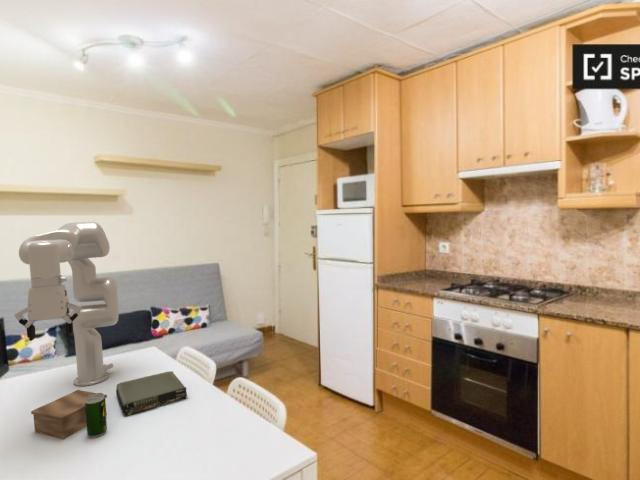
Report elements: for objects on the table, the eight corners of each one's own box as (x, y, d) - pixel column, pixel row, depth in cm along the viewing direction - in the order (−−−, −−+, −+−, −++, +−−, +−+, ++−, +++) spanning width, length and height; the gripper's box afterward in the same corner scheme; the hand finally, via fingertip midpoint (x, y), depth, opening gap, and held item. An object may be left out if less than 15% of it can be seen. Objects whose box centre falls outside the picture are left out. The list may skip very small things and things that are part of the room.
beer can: (88, 440, 120) (85, 402, 120) (86, 432, 125) (84, 395, 124) (108, 434, 123) (105, 397, 122) (106, 427, 128) (103, 391, 127)
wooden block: (79, 408, 141) (77, 389, 140) (108, 414, 136) (106, 394, 135) (32, 432, 126) (30, 411, 126) (63, 440, 121) (61, 418, 121)
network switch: (126, 421, 132) (125, 406, 132) (108, 398, 149) (107, 385, 149) (193, 397, 147) (193, 384, 147) (170, 379, 165) (169, 367, 164)
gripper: (81, 278, 127) (85, 330, 128) (17, 283, 122) (22, 337, 123) (75, 281, 120) (80, 337, 121) (7, 286, 114) (12, 345, 116)
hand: (51, 337), depth 122 cm, fingers open, 9 cm apart
